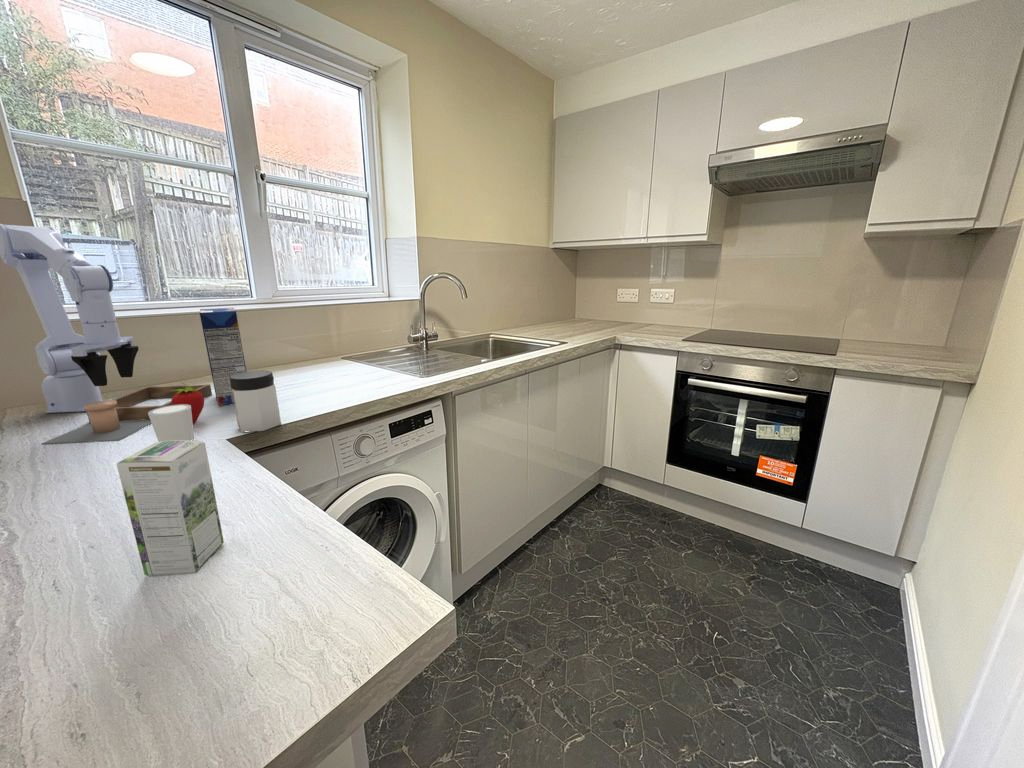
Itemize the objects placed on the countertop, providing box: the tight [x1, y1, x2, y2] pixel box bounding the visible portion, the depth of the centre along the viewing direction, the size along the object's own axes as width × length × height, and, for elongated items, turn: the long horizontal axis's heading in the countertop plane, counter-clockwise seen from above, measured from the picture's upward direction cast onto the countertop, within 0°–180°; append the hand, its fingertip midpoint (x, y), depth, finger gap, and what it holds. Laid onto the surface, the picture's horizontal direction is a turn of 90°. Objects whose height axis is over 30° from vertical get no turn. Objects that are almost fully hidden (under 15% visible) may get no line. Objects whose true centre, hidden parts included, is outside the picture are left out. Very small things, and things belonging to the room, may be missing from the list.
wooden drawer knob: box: [83, 399, 121, 433], centre depth 90 cm, size 5×5×6 cm
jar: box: [229, 369, 282, 433], centre depth 92 cm, size 9×8×12 cm
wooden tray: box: [86, 383, 213, 423], centre depth 106 cm, size 16×20×3 cm
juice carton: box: [199, 307, 247, 407], centre depth 110 cm, size 12×8×24 cm, turn 35°
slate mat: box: [41, 419, 152, 445], centre depth 90 cm, size 14×12×1 cm
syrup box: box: [116, 440, 225, 577], centre depth 49 cm, size 6×6×14 cm
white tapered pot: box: [148, 404, 195, 442], centre depth 84 cm, size 7×7×7 cm
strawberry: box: [170, 381, 205, 424], centre depth 94 cm, size 6×8×10 cm
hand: (114, 381), depth 95 cm, fingers open, 7 cm apart
